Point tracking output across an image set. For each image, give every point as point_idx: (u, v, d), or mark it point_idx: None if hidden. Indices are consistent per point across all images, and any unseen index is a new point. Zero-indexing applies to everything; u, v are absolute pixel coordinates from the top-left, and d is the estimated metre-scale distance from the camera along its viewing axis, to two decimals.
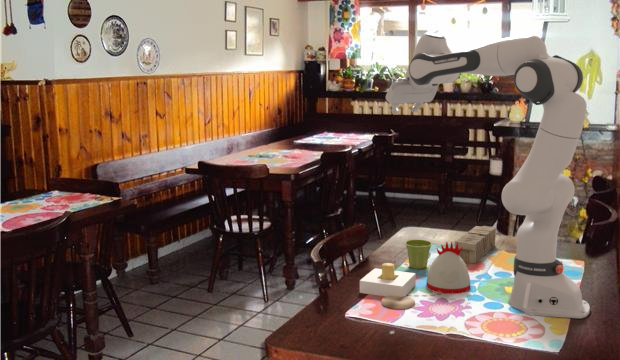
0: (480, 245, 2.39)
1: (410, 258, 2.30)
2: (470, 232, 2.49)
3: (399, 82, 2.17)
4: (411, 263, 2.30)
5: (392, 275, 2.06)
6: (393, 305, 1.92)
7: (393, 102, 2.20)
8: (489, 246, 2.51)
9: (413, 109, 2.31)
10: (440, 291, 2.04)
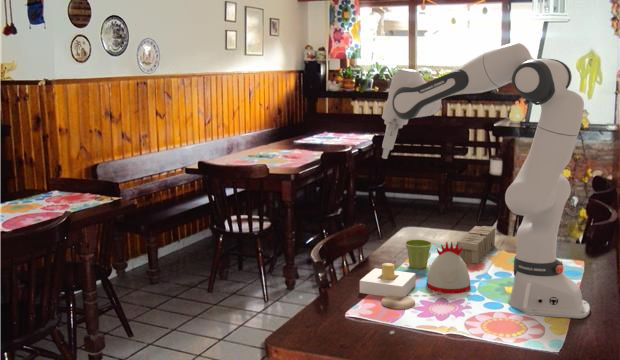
0: (482, 245, 2.39)
1: (410, 258, 2.30)
2: (471, 232, 2.49)
3: None
4: (411, 263, 2.30)
5: (392, 275, 2.06)
6: (393, 305, 1.92)
7: None
8: (489, 246, 2.51)
9: None
10: (440, 291, 2.04)
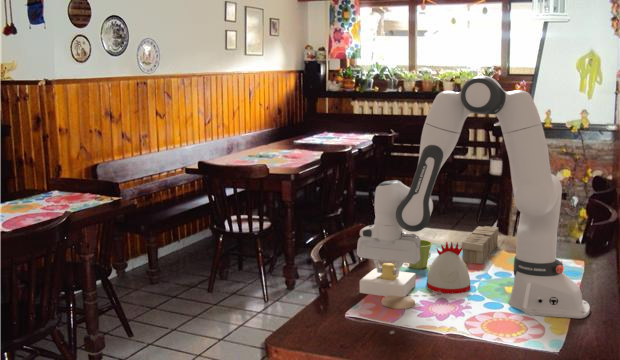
0: (486, 245, 2.38)
1: None
2: (474, 232, 2.48)
3: None
4: None
5: (392, 275, 2.06)
6: (393, 305, 1.92)
7: None
8: (493, 246, 2.50)
9: None
10: (440, 291, 2.04)
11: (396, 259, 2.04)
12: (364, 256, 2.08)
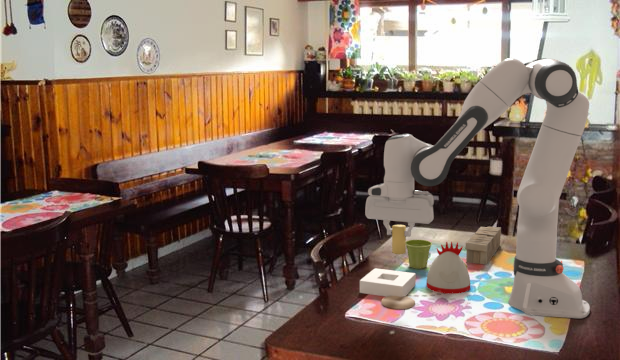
0: (490, 246, 2.37)
1: (410, 258, 2.30)
2: (477, 233, 2.48)
3: None
4: (411, 263, 2.30)
5: (403, 237, 1.91)
6: (393, 305, 1.92)
7: None
8: (496, 246, 2.50)
9: None
10: (440, 291, 2.04)
11: (408, 219, 1.89)
12: (373, 217, 1.94)
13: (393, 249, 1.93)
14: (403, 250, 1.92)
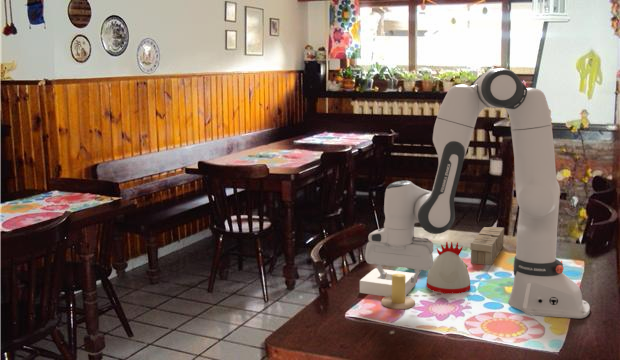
0: (494, 246, 2.37)
1: None
2: (481, 233, 2.47)
3: None
4: None
5: (403, 287, 1.93)
6: (393, 305, 1.92)
7: None
8: (499, 247, 2.49)
9: (385, 275, 1.96)
10: (440, 291, 2.04)
11: (407, 265, 1.91)
12: (373, 262, 1.95)
13: (393, 298, 1.95)
14: (403, 299, 1.94)
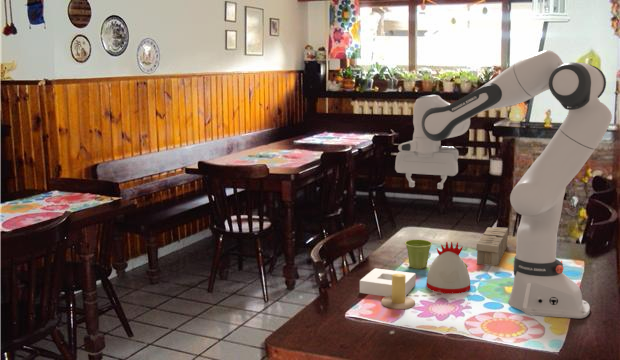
0: (500, 247, 2.36)
1: (410, 258, 2.30)
2: (486, 234, 2.46)
3: None
4: (411, 263, 2.30)
5: (403, 287, 1.93)
6: (393, 305, 1.92)
7: None
8: (504, 247, 2.49)
9: (414, 183, 2.14)
10: (440, 291, 2.04)
11: (434, 172, 2.08)
12: (402, 171, 2.13)
13: (393, 298, 1.95)
14: (403, 299, 1.94)
